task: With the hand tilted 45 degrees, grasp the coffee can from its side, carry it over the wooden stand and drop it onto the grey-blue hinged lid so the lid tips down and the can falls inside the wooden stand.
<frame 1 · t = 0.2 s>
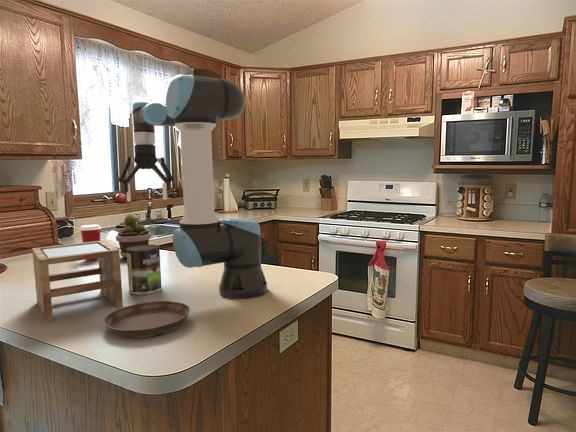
hand: (147, 200, 160), 27 cm above the counter, tool pointing down, fingers open, 13 cm apart
lid: (75, 251, 121), point 16 cm above the counter, hinge at 0.0°
coffee can: (145, 290, 136), on the counter
crystal: (119, 246, 214), on the counter
flowerpot: (135, 257, 186), on the counter
wooden stand: (79, 304, 123), on the counter
plant saucer: (148, 326, 106), on the counter
coffee cup: (92, 260, 182), on the counter
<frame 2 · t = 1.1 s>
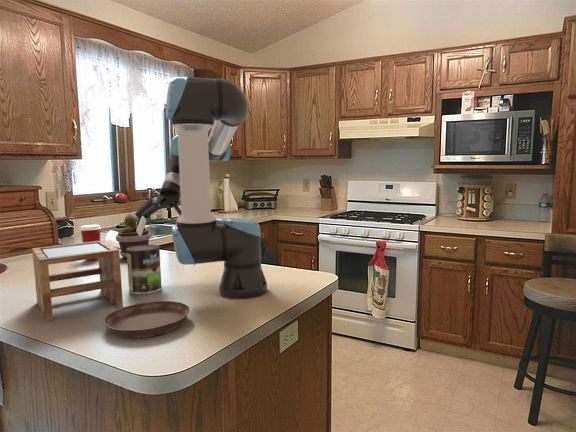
hand: (157, 233, 144), 17 cm above the counter, tool tilted 45°, fingers open, 13 cm apart
nothing on the counter moved.
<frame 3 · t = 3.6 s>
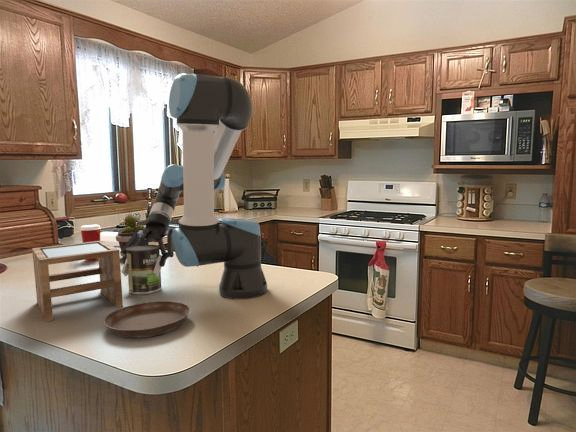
hand: (139, 274, 132), 6 cm above the counter, tool tilted 45°, fingers closed on coffee can, 10 cm apart
coffee can: (145, 290, 136), on the counter, touching gripper
when the fingers open (25 cm above the counter, at t = 8.0 s): coffee can drops 4 cm, resting on lid.
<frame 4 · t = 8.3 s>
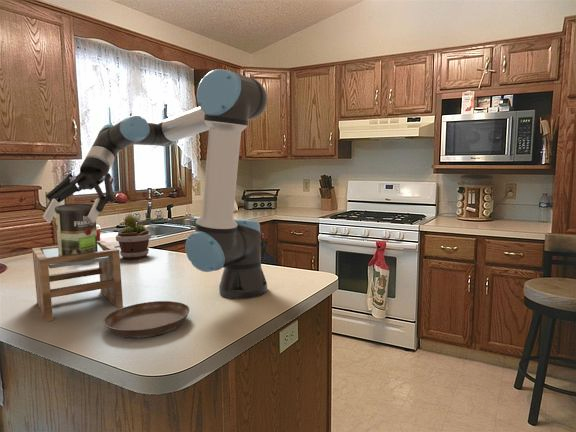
hand: (68, 219, 115), 26 cm above the counter, tool tilted 45°, fingers open, 13 cm apart
lid: (75, 254, 121), point 15 cm above the counter, hinge at -7.5°, touching coffee can
coffee can: (78, 255, 119), point 15 cm above the counter, touching gripper, lid
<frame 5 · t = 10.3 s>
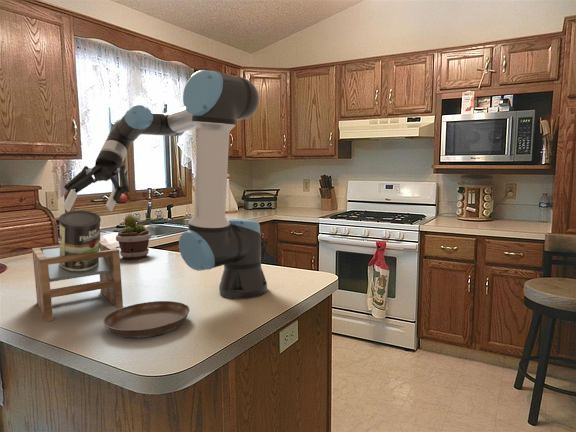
hand: (87, 208, 123), 28 cm above the counter, tool tilted 45°, fingers open, 13 cm apart
lid: (75, 260, 122), point 13 cm above the counter, hinge at -23.6°
coffee can: (79, 262, 120), point 13 cm above the counter, touching wooden stand
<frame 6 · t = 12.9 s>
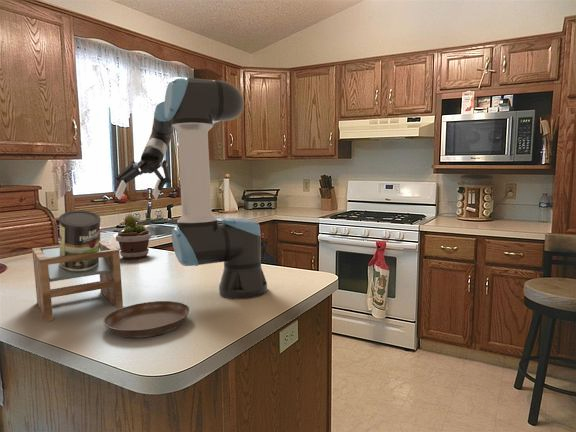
hand: (136, 196, 144), 30 cm above the counter, tool tilted 45°, fingers open, 13 cm apart
lid: (75, 260, 122), point 13 cm above the counter, hinge at -23.5°, touching coffee can
coffee can: (79, 262, 121), point 13 cm above the counter, touching wooden stand, lid
at the end: coffee can inside the target area on the wooden stand (1.6 cm from its centre), point 12.7 cm above the wooden stand's base; coffee can point 12.7 cm above the counter; the gripper is holding nothing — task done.
